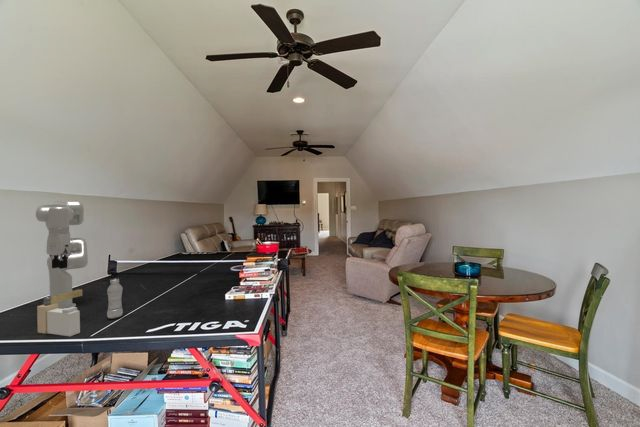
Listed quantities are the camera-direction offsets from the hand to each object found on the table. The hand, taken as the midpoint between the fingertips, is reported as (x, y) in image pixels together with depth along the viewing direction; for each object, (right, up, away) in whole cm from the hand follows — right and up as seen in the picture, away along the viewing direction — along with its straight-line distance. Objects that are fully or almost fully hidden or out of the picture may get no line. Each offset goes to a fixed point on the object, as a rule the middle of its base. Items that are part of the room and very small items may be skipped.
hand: (59, 267), depth 139 cm
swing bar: (+6, -15, -4) cm, 17 cm away
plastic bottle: (+24, -27, +5) cm, 37 cm away
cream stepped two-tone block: (+11, -27, -12) cm, 32 cm away
